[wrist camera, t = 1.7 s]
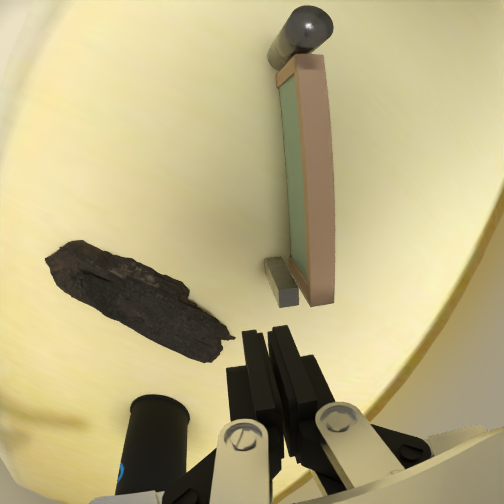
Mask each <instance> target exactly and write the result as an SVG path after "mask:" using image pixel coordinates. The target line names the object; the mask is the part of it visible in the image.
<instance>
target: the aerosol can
mask: <svg viewBox="0 0 504 504" xmlns="http://www.w3.org/2000/svg"><path fill="white" fill-rule="evenodd" d="M130 413H131V415H130V420H129V424H128V429H127V434H126V438H125V443H124V448H123V453H122V458H121V464H120V469H119V474H118V480H117V486H116V492H115V495H125V494H133V493H140V492H147V491H153V490H154V491H155V492H156V493H157V492H162V491H166V489H167V488H168V487H169V486H171V485H172V484H173V483H175V482H176V481H177V480H178V479H180V478H181V477H182V476H183V475H185V474H186V457H187V426H188V424H189V420H190V416H189V413H188V411H187V409H186V408H185V407H184V406H183V405H182V404H180V403H179V402H177V401H176V400H173V399H171V398H168V397H165V396H160V395H146V396H142V397H139V398H137V399H136V400H134V402H133V403H132V404H131V407H130Z"/></svg>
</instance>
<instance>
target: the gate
mask: <svg viewBox="0 0 504 504" xmlns="http://www.w3.org/2000/svg"><path fill="white" fill-rule="evenodd" d="M276 82H277V88H279V91H280V101H281V112H282V123H283V135H284V147H285V160H286V173H287V188H288V204H289V221H290V239H291V257H289V260H290V273H291V275H292V276H293V278H294V280H295V281H296V283H297V285H298V287H299V288H300V290H301V292H302V293H303V295H304V297H305V299H306V300H307V302H308V304H309V305H310V307H314V306H320V305H326V304H332V303H334V287H335V201H334V173H333V154H332V138H331V125H330V112H329V101H328V91H327V82H326V73H325V65H324V57H323V55H316V54H295V55H294V56H293V57H292V58H291V59H290V61H289V62H288V63H287V64H286V65H285V66H284V67H283V68H282V69H281V70H280V71H279V73H278V74H277V75H276Z"/></svg>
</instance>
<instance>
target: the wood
mask: <svg viewBox="0 0 504 504" xmlns="http://www.w3.org/2000/svg"><path fill="white" fill-rule="evenodd" d="M45 261H46V263H47V265H48V266H49V268H50V272H51V275H52V276H53V279H54V281H55V283H56V285H57V286H58V287H59V288H60V289H61V290H63V291H64V292H65V293H67V294H69V295H71V297H73V298H75V299H77V300H79V301H81V302H84V303H86V304H88V305H90V306H92V307H94V308H96V309H97V310H99V311H100V312H101V313H102V314H103V315H105V316H107V317H109V318H111V319H113V320H117V321H120V322H121V323H122V324H124V325H126V326H128V327H130V328H131V329H133V330H135V331H136V332H138V333H140V334H141V335H143V336H145V337H146V338H148V339H150V340H152V341H154V342H156V343H158V344H160V345H162V346H164V347H167V348H169V349H171V350H173V351H176V352H178V353H180V354H182V355H184V356H186V357H188V358H190V359H194V360H197V361H200V362H203V363H206V362H209V363H212V362H213V361H214V360H215V359H216V358H217V357H218V356H219V355H220V352H221V351H222V350H223V347H222V346H221V340H228V341H229V340H234V339H235V338H236V337H232V336H229V332H228V330H227V327H226V326H224V325H223V324H220V322H219V321H218V320H217V319H216V318H214V317H212V316H210V315H208V314H207V313H205V312H203V311H201V310H199V308H197V305H196V304H194V303H191V302H189V301H186V300H187V298H188V295H189V289H188V288H187V287H186V286H185V285H184V284H183V282H181V281H178V280H175V279H173V278H171V277H169V276H167V275H162V274H160V273H158V272H156V271H155V270H154V269H152V268H150V267H148V266H145V265H143V264H141V263H139V262H136V261H135V260H134V259H132V258H124V257H120V256H115V255H112V254H111V253H108V252H105V251H102V250H100V249H98V248H96V247H94V246H92V245H90V244H88V243H86V242H84V241H83V240H78V241H71V242H68V243H67V244H65V245H64V246H63V247H60V249H59V250H58V251H57V252H55V253H54V254H52V255H51V256H49V257H47V258H45Z"/></svg>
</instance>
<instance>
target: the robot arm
mask: <svg viewBox="0 0 504 504" xmlns="http://www.w3.org/2000/svg"><path fill="white" fill-rule="evenodd" d="M242 338H243V346H244V353H245V361H246V365H245V366H238V367H230V368H226V374H227V386H228V397H229V408H230V419H231V422H230V423H228V424H227V425H225V426H224V427H223V428H222V430H221V431H220V433H219V436H218V443H217V448H216V449H214V450H213V451H212V452H211V453H210V454H209V455H207V456H206V457H205V458H204V459H203V460H202V461H200V462H199V463H198V464H197V465H196V466H194V467H193V468H192V469H191V470H190V471H188V472H187V473H186V474H185V475H183V476H182V477H181V478H180V479H178V480H177V481H176V482H175V483H173V484H172V485H171V486H169V487H168V488H167V489H166V491H162V492H157V493H156V492H155V491H154V490H153V491H147V492H140V493H133V494H125V495H115V496H104V497H98V498H95V499H94V500H92V501H91V502H90V503H89V504H273V481H272V479H273V478H274V477H275V476H276V475H277V474H278V473H279V471H280V470H281V459H283V458H284V438H285V442H286V445H287V449H288V453H289V456H290V457H293V456H295V458H296V461H297V464H298V463H301V465H302V466H304V467H306V468H309V469H311V473H312V476H313V478H314V480H315V481H316V483H317V485H318V487H319V489H320V491H321V493H322V495H323V496H324V497H321V498H316V499H312V500H308V501H303V502H298V503H293V504H504V427H500V428H496V429H492V430H489V431H488V430H487V429H486V428H485V427H483V426H480V425H471V426H468V427H464V428H461V429H457V430H453V431H449V432H445V433H441V434H437V435H432V436H429V437H428V438H427V439H425V440H422V439H420V438H418V437H414V436H410V435H407V434H403V433H400V432H396V431H393V430H389V429H386V428H383V427H379V426H376V425H373V424H370V423H369V422H368V421H367V419H366V418H365V417H364V415H363V414H362V413H361V412H360V410H359V409H358V408H357V407H355V406H354V405H352V404H350V403H346V402H335V400H334V397H333V395H332V393H331V391H330V389H329V387H328V384H327V382H326V380H325V378H324V376H323V374H322V372H321V369H320V367H319V365H318V363H317V361H316V359H315V357H314V355H307V356H302V357H300V355H299V352H298V350H297V347H296V345H295V342H294V340H293V337H292V335H291V333H290V330H289V328H288V326H287V325H283V326H277V327H273V328H272V331H269V332H268V347H269V355H268V351H267V348H266V344H265V340H264V337H263V333H257V331H256V330H249V331H242Z"/></svg>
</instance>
